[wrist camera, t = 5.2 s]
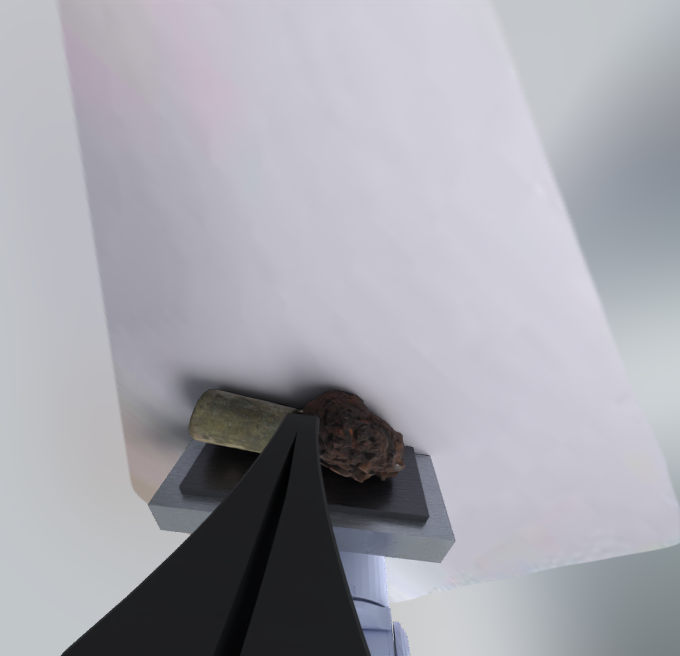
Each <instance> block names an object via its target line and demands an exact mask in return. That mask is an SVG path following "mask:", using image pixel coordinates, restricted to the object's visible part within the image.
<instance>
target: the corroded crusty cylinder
mask: <svg viewBox="0 0 680 656" xmlns="http://www.w3.org/2000/svg"><path fill="white" fill-rule="evenodd" d="M288 413H292V414H301V415H310V416H317V417H318V418H319V419H320V421H319V435H318V438H319V454H320V462H321V464H322V465H324V466H326V467H328V468H330V469H331V470H333V471H334V472H336V473H338V474H340V475H342V476H345V477H349V476H350V477H351V478H354V479H355V480H356V481H359V482H361V483H363V481H364V480H365V479H368V478H370V477H371V476H372V475H375V474H376V475H377V476H378V477H379V478H380V479H381V480H383V481H385V478H388V477H397V475H398V471H402V470H403V469H404V468H405V462H404V459H403V457H404V454H405V450H404V443H403V436H402V434H400V433H399V432H396V431H395V430H394V429H393V428H392V427H390V426H389V425H388V424H387V423H386V422H385V421H383V420H382V419H380V418H379V417H378V416H375V415H373V414H372V413H370V412H369V411H368V409H367V407H366V406H365V405H364V403H363V400H362V399H360V398H359V397H358V396H356V395H353V394H346V393H344V392H341V391H329V392H326V393H324V394H322V395H320V396H319V397H317V398H315V399H313V400H311V401H310V402H308V403H307V404H306V405H305V406H304V408H303V410H301V409H296V408H292V407H287V406H283V405H279V404H275V403H272V402H268V401H264V400H259V399H254V398H250V397H246V396H242V395H238V394H234V393H229V392H225V391H221V390H216V389H210V390H208V391H206V392H205V393H204V394H203V395H202V396H201V397H200V399H199V400H198V402H197V404H196V406H195V408H194V410H193V413H192V416H191V418H190V423H189V432H190V435H191V437H192V438H193V439H194V440H196V441H201V442H206V443H211V444H217V445H222V446H227V447H232V448H237V449H242V450H248V451H253V452H258V453H261V452H262V451H263V449H264V448H265V447H266V445H267V444H268V442H269V441H270V439H271V438H272V436H273V435H274V433H275V432H276V430H277V429H278V427H279V425H280V424H281V422H282V420H283V419H284V417H285V415H286V414H288Z"/></svg>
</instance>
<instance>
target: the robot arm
mask: <svg viewBox="0 0 680 656" xmlns="http://www.w3.org/2000/svg"><path fill="white" fill-rule="evenodd" d="M319 421H320V419H319V418H318V417H317V416H310V415H301V414H292V413H288V414H286V415H285V417H284V419H283V420H282V422H281V424H280V425H279V427H278V429H277V430H276V432H275V433H274V435H273V436H272V438H271V439H270V441H269V442H268V444H267V445H266V447H265V448H264V449H263V451H262V452H261V453H260V455H259V456H258V458H257V459H256V460H255V462H254V463H253V464H252V466H251V467H250V468H249V469H248V471H247V472H246V473H245V474H244V476H243V477H242V478H241V479H240V481H239V482H238V483H237V484H236V486H235V487H234V488H233V489H232V490H231V492H230V493H229V494H228V495H227V496H226V497H225V499H224V500H223V501H222V502H221V503H220V504H219V505H218V506H217V508H216V509H215V510H214V511H213V512H212V513H211V514H210V515H209V516H208V517H207V518H206V519H205V521H204V522H203V523H202V524H201V525H200V526H199V527H198V528H197V529H196V530H195V531H194V532H193V533H192V534H191V535H190V536H189V537H188V538H187V540H185V541H184V542H183V544H181V545H180V547H178V548H177V549H176V550H175V552H173V553H172V554H171V555H170V556H169V557H168V558H167V559H166V560H165V561H164V562H163V563H162V564H161V565H160V566H159V567H158V568H157V569H156V570H154V571H153V572H152V573H151V574H150V575H149V576H148V577H147V578H146V579H145V580H144V581H143V582H142V583H141V584H140V585H139V586H138V587H136V588H135V589H134V590H133V591H132V592H131V593H130V594H129V595H128V596H127V597H126V598H125V599H123V600H122V601H121V602H120V603H119V604H118V605H116V606H115V607H114V608H113V609H112V610H111V611H110V612H109V613H107V614H106V615H105V616H104V617H103V618H102V619H101V620H99V621H98V622H97V623H96V624H95V625H94V626H93V627H91V628H90V629H89V630H88V631H87V632H86V633H85V634H83V635H82V636H81V637H80V638H79V639H78V640H77V641H76V642H74V643H73V644H72V645H71V646H70V647H69V648H68V649H67V650H66V651H64V652H63V654H62V655H61V656H410V650H409V644H408V638H407V634H406V632H405V631H404V629H403V628H402V627H401V625H400V623H399V622H393V633H394V642H393V633H392V623H391V609H390V608H389V603H388V591H387V579H386V567H385V556H377V555H369V554H360V553H352V552H343V551H338V547H337V543H336V539H335V535H334V531H333V527H332V522H331V518H330V514H329V509H328V504H327V500H326V494H325V489H324V483H323V477H322V470H321V462H320V454H319V438H318V435H319Z"/></svg>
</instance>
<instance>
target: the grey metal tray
mask: <svg viewBox="0 0 680 656" xmlns="http://www.w3.org/2000/svg"><path fill="white" fill-rule="evenodd" d="M404 450H405V454H404V457H403V459H404V462H405V468H404V469H403V470H402V471H398V475H397V477H388V478H385V481H383V480H381V479H380V478H379V477H378V476H377V475H376V474H375V475H372V476H371V477H370V478H368V479H365V480H364V481H363V483H361V482H359V481H356V480H355V479H354V478H351V477H350V476H349V477H345V476H342V475H340V474H338V473H336V472H334V471H333V470H331V469H330V468H328V467H326V466H324V465H322V464H321V470H322V477H323V483H324V489H325V494H326V500H327V504H328V509H329V514H330V518H331V522H332V527H333V531H334V535H335V539H336V543H337V547H338V551H343V552H352V553H360V554H369V555H377V556H385V557H394V558H402V559H411V560H419V561H428V562H436V563H441V561H442V560H443V558H444V557H445V556H446V554H447V553H448V551H449V550H450V548H451V547H452V545H453V544H454V542H455V538H454V534H453V531H452V528H451V524H450V521H449V518H448V514H447V511H446V507H445V504H444V501H443V497H442V494H441V491H440V487H439V484H438V481H437V477H436V474H435V470H434V467H433V464H432V460H431V457H430V456H426V455H418V454H415V453H414V449H413V447H405V446H404ZM259 455H260V453H258V452H253V451H248V450H242V449H237V448H232V447H227V446H222V445H217V444H211V443H206V442H201V441H196V440H194V439H193V440H192V441H191V443H190V444H189V446H188V447H187V449H186V450H185V452H184V453H183V454H182V456H181V457H180V459H179V460H178V462H177V463H176V465H175V466H174V467H173V469H172V470H171V472H170V473H169V475H168V476H167V478H166V479H165V480H164V482H163V483H162V485H161V486H160V488H159V489H158V490H157V492H156V493H155V495H154V496H153V498H152V499H151V501H150V502H149V503H148V506H149V508H150V510H151V512H152V514H153V516H154V518H155V520H156V522H157V524H158V526H159V527H160V530H167V531H175V532H183V533H191V534H192V533H193V532H194V531H195V530H196V529H197V528H198V527H199V526H200V525H201V524H202V523H203V522H204V521H205V519H206V518H207V517H208V516H209V515H210V514H211V513H212V512H213V511H214V510H215V509H216V508H217V506H218V505H219V504H220V503H221V502H222V501H223V500H224V499H225V497H226V496H227V495H228V494H229V493H230V492H231V490H232V489H233V488H234V487H235V486H236V484H237V483H238V482H239V481H240V479H241V478H242V477H243V476H244V474H245V473H246V472H247V471H248V469H249V468H250V467H251V466H252V464H253V463H254V462H255V460H256V459H257V458H258V456H259Z"/></svg>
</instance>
